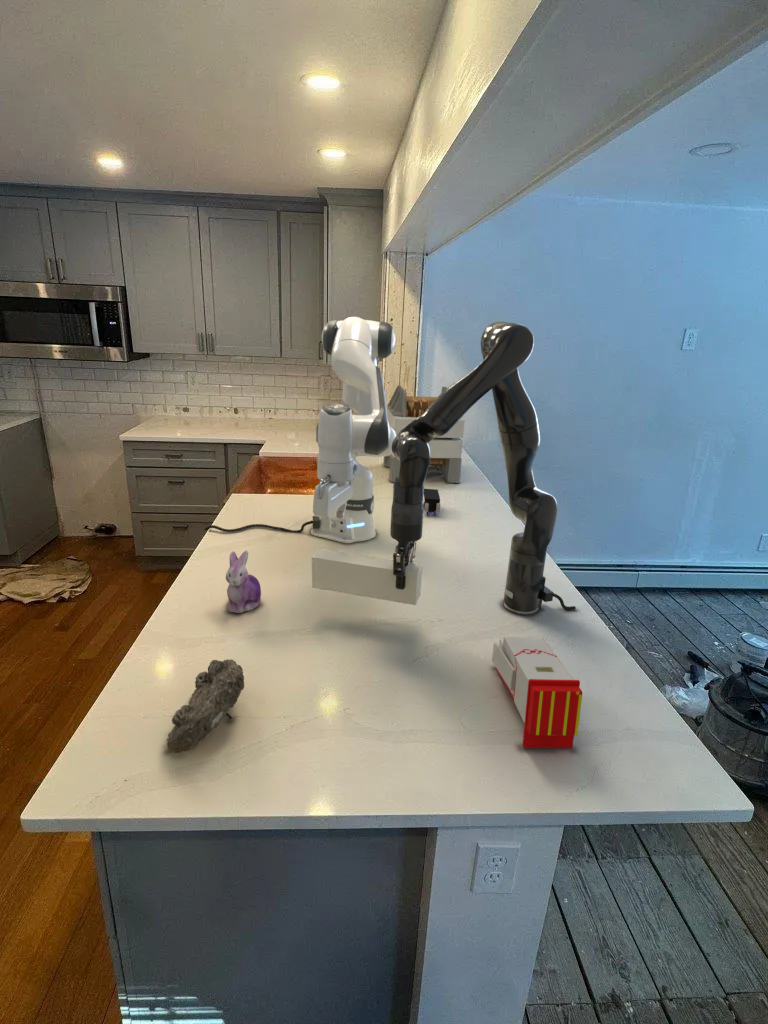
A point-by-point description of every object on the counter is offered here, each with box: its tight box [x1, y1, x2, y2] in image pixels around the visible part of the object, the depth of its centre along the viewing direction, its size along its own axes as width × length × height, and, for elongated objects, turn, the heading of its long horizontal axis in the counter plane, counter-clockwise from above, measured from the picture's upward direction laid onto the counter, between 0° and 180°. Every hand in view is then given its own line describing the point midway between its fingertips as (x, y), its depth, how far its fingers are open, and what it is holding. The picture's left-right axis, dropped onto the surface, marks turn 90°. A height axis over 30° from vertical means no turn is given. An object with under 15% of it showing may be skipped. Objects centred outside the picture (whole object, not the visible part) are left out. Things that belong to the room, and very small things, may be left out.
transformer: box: [383, 384, 465, 484], centre depth 268 cm, size 34×33×41 cm
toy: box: [491, 636, 583, 749], centre depth 115 cm, size 12×13×30 cm
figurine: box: [225, 550, 262, 614], centre depth 146 cm, size 9×10×15 cm
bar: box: [311, 548, 423, 606], centre depth 140 cm, size 27×6×8 cm, turn 74°
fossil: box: [166, 658, 245, 754], centre depth 106 cm, size 22×10×15 cm
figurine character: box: [423, 488, 441, 517], centre depth 222 cm, size 7×8×15 cm
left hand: (334, 523), depth 145 cm, fingers open, 8 cm apart
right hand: (403, 582), depth 138 cm, fingers closed on bar, 5 cm apart
